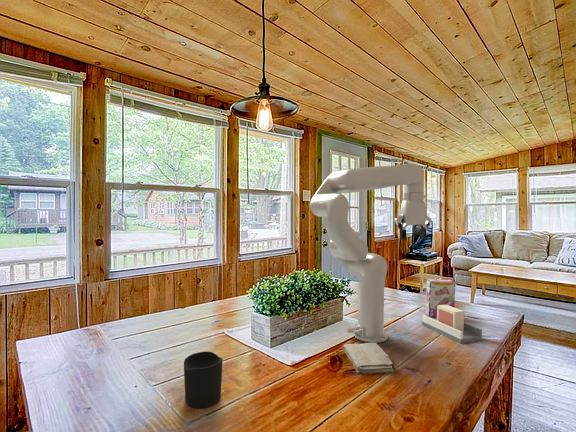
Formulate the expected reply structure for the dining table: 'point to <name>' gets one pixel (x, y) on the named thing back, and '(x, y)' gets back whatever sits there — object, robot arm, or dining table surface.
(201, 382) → the pen holder
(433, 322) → the shelf
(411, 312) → the dining table surface
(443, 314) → the product box
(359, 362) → the washcloth
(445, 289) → the candy bar box
